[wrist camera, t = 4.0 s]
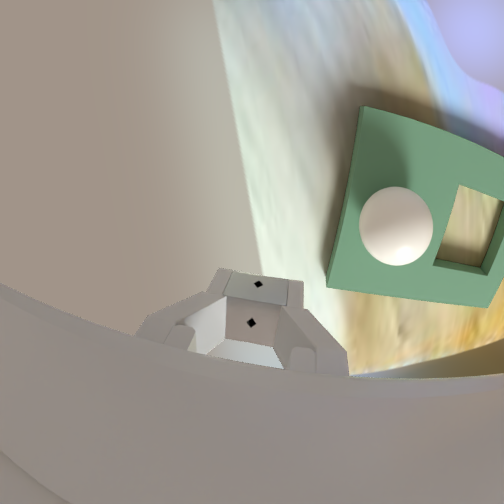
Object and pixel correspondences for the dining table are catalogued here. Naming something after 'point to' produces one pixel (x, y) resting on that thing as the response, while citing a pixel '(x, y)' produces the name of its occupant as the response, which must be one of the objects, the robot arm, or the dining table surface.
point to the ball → (396, 226)
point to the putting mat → (434, 195)
